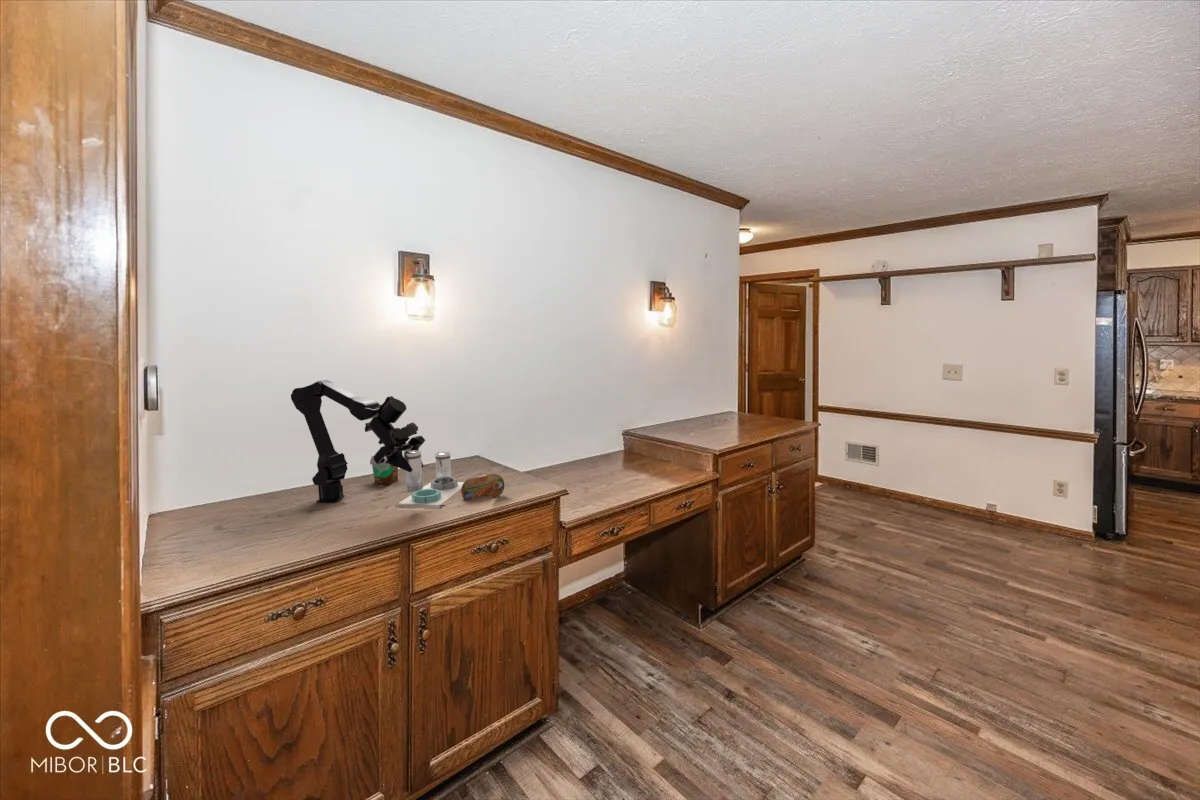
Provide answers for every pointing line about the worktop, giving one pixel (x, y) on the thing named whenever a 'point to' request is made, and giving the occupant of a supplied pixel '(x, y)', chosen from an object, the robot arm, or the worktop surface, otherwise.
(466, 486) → the tin
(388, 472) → the food container
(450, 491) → the pallet
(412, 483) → the cylinder
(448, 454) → the clear lidded jar
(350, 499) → the worktop surface
